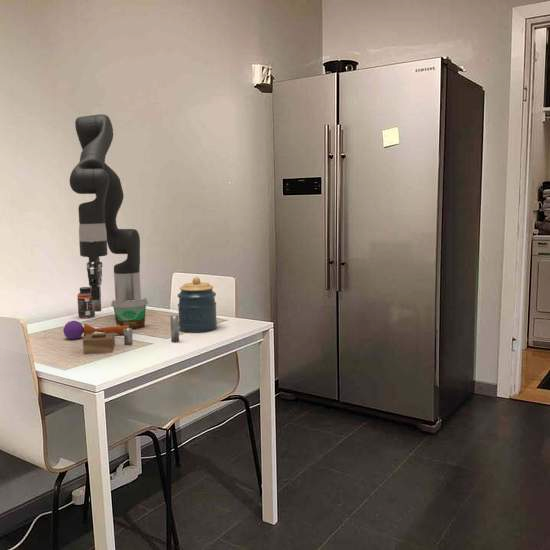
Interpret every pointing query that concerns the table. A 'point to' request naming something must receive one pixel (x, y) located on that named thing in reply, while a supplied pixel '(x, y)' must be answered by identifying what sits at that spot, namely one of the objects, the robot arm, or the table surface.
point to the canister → (197, 307)
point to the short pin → (128, 336)
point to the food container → (130, 313)
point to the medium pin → (174, 328)
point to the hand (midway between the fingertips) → (96, 298)
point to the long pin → (96, 301)
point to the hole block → (98, 343)
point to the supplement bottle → (85, 303)
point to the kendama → (88, 329)
